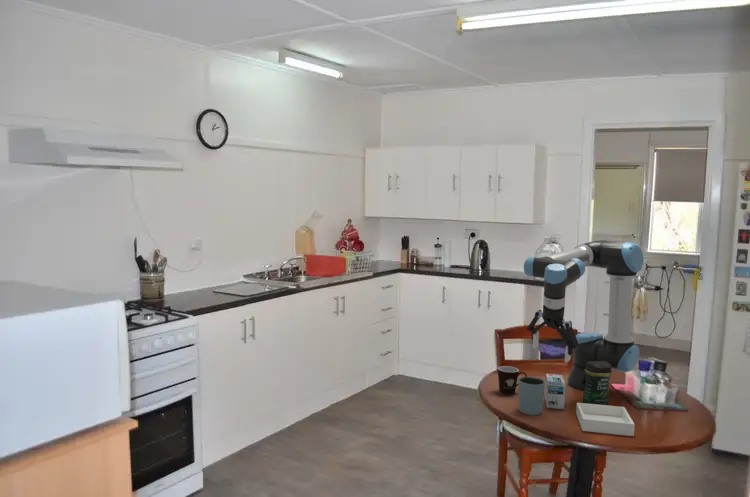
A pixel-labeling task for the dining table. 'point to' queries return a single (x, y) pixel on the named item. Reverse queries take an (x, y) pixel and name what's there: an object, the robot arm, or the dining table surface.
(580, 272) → the robot arm
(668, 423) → the dining table surface
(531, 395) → the blue-grey cup
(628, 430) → the tray
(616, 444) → the dining table surface
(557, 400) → the light bulb box
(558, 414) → the dining table surface
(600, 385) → the coffee jar
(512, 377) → the coffee mug
